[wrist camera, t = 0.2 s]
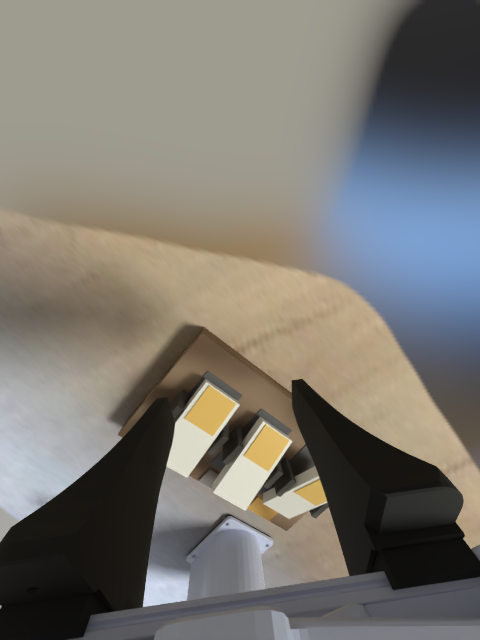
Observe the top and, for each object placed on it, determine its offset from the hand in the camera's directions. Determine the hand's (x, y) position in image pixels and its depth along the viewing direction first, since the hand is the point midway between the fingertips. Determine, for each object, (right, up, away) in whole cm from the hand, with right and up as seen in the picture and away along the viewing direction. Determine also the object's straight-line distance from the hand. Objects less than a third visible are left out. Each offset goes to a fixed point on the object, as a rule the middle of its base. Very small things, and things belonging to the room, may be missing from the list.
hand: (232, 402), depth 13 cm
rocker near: (-4, -5, +8) cm, 10 cm away
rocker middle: (+2, -10, +9) cm, 13 cm away
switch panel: (+2, -9, +13) cm, 16 cm away
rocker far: (+7, -14, +11) cm, 19 cm away
